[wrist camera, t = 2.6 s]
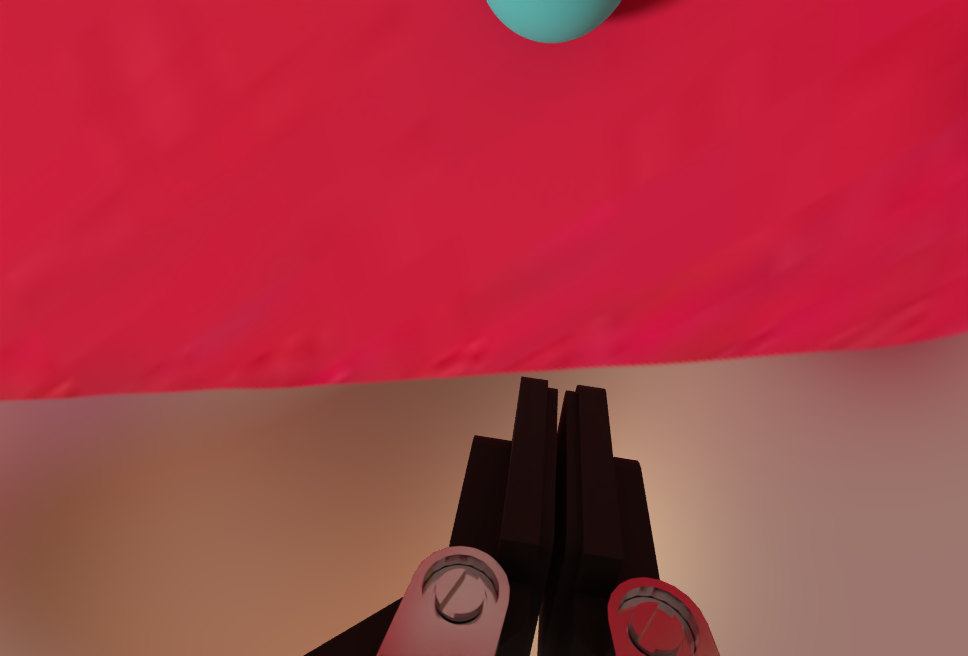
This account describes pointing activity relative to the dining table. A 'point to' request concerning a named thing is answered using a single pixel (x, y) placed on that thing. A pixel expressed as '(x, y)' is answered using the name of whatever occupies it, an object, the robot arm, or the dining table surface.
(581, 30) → the ball
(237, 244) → the dining table surface
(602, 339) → the dining table surface
